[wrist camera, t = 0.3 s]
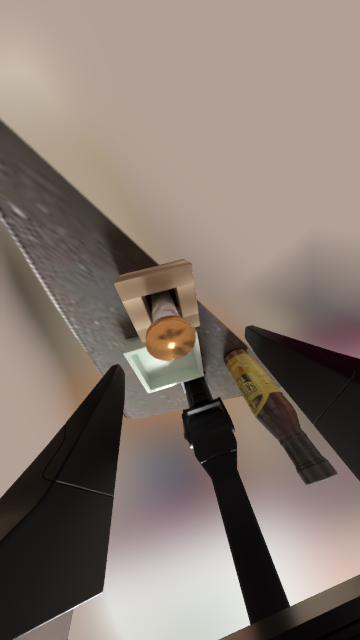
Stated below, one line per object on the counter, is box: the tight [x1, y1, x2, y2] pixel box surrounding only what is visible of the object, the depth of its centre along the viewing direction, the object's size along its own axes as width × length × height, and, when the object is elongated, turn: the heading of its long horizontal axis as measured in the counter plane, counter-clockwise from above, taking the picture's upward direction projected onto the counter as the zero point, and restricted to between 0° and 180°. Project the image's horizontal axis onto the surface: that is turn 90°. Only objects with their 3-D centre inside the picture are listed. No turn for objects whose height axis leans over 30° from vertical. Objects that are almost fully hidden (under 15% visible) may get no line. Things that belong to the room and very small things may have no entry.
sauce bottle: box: [224, 349, 337, 486], centre depth 24 cm, size 7×6×20 cm
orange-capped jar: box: [146, 290, 196, 361], centre depth 16 cm, size 4×4×11 cm
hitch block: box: [114, 259, 200, 342], centre depth 19 cm, size 9×9×4 cm
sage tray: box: [123, 327, 204, 393], centre depth 26 cm, size 12×12×4 cm
